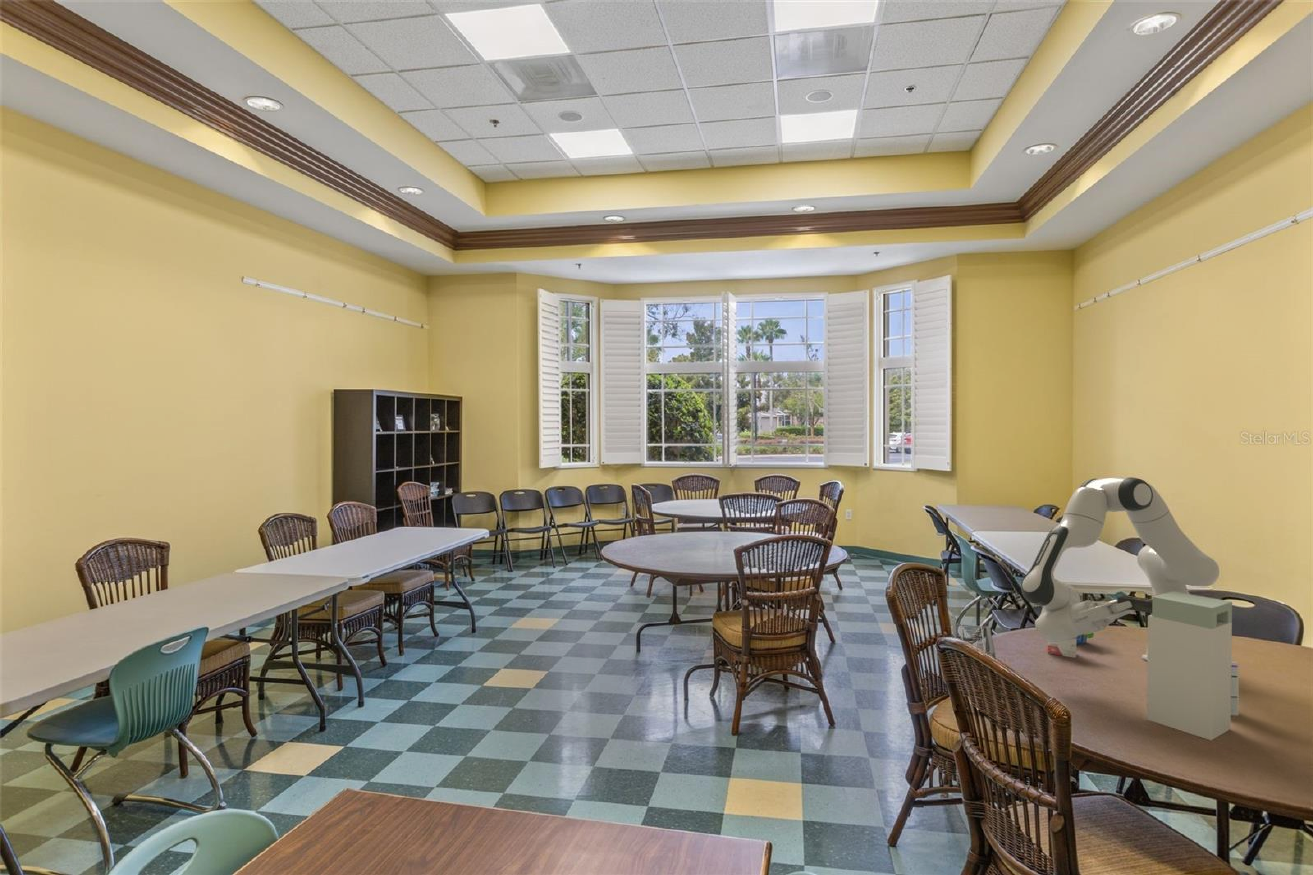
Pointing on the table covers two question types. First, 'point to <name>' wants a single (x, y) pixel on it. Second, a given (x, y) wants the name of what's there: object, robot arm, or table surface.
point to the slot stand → (1190, 663)
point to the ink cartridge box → (1063, 647)
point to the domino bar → (1137, 603)
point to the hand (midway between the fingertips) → (1136, 602)
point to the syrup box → (1234, 688)
